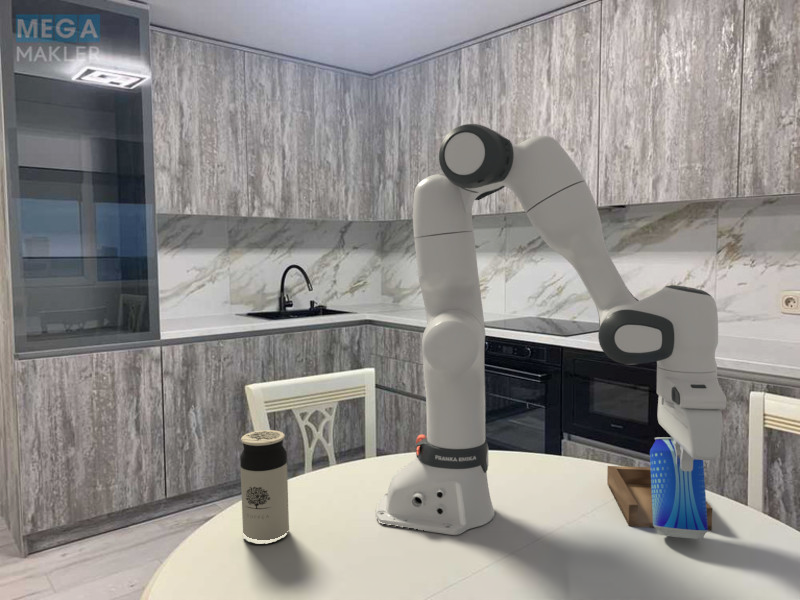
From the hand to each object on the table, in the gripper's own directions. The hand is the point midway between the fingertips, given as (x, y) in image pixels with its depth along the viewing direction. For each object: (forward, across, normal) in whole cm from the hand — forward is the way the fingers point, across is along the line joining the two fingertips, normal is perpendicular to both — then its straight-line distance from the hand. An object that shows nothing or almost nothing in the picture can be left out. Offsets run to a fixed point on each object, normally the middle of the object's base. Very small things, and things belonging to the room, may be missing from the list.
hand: (684, 468), depth 97 cm
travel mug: (+14, +4, -71) cm, 72 cm away
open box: (+14, -16, 0) cm, 21 cm away
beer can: (+12, -1, 0) cm, 12 cm away
